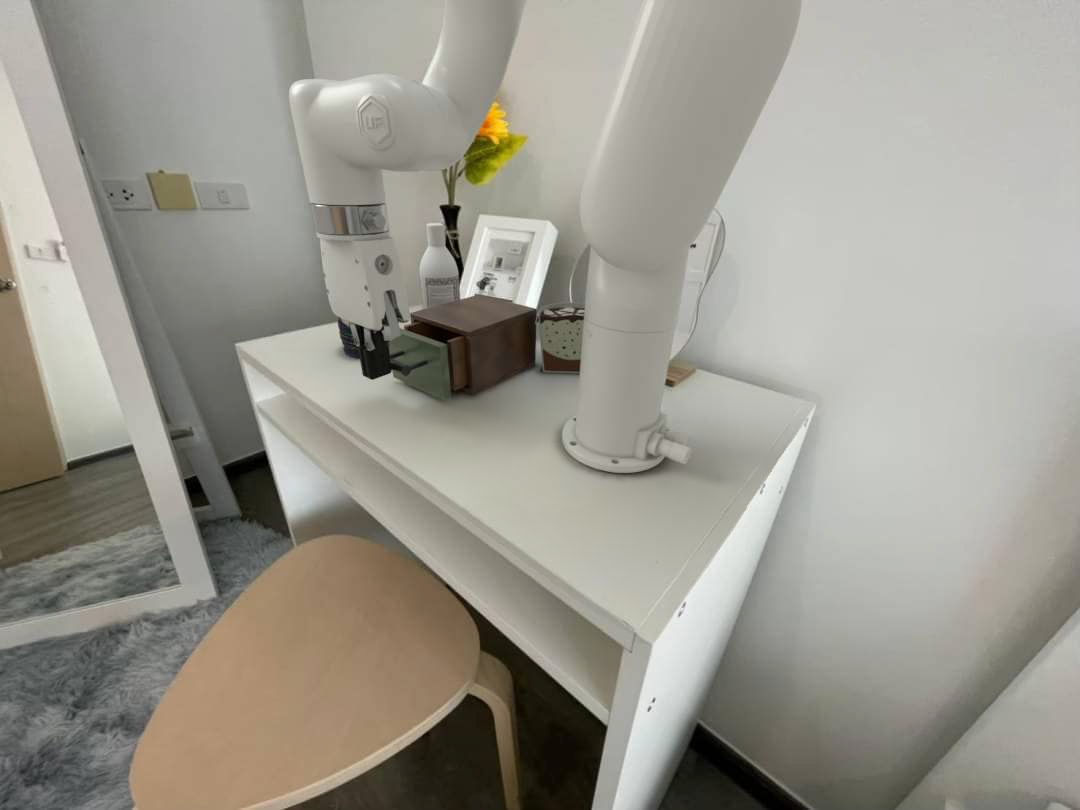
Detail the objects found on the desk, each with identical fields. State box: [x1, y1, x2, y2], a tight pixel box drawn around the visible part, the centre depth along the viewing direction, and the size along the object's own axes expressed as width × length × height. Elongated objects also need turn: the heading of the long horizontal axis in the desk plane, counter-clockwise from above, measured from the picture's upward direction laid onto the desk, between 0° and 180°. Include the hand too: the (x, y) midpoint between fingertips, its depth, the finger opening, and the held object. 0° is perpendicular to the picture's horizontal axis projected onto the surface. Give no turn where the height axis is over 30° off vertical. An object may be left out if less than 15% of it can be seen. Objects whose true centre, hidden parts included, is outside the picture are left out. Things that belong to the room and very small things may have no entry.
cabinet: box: [410, 294, 538, 396], centre depth 69 cm, size 15×13×10 cm
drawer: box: [389, 321, 469, 402], centre depth 64 cm, size 18×11×8 cm, turn 142°
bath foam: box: [418, 222, 461, 310], centre depth 80 cm, size 7×7×20 cm
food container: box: [535, 302, 585, 375], centre depth 71 cm, size 12×6×10 cm, turn 88°
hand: (377, 374), depth 56 cm, fingers closed
